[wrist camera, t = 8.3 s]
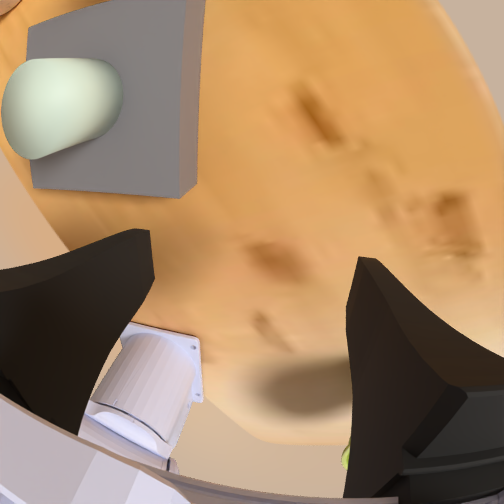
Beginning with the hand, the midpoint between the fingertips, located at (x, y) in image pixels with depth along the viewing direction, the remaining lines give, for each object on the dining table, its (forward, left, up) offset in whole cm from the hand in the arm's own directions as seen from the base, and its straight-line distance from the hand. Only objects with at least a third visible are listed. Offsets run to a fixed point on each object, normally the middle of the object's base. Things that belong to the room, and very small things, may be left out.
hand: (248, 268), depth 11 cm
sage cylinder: (+6, +11, -7) cm, 14 cm away
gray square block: (+6, +11, -10) cm, 16 cm away
